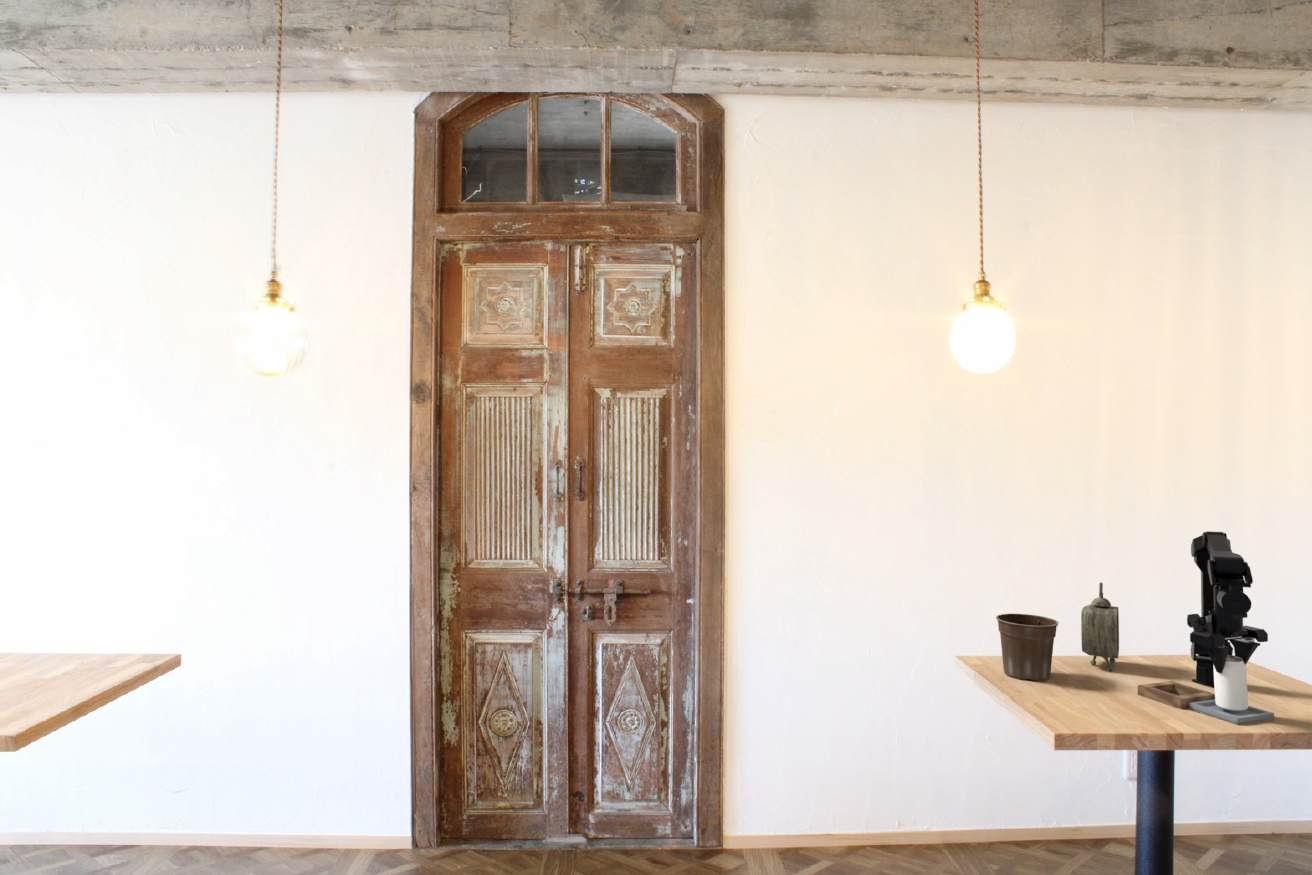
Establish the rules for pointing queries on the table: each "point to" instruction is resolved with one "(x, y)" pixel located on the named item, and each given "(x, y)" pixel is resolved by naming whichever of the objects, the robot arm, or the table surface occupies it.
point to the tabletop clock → (1100, 630)
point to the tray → (1231, 713)
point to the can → (1231, 685)
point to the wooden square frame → (1165, 690)
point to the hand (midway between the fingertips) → (1229, 671)
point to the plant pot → (1027, 645)
